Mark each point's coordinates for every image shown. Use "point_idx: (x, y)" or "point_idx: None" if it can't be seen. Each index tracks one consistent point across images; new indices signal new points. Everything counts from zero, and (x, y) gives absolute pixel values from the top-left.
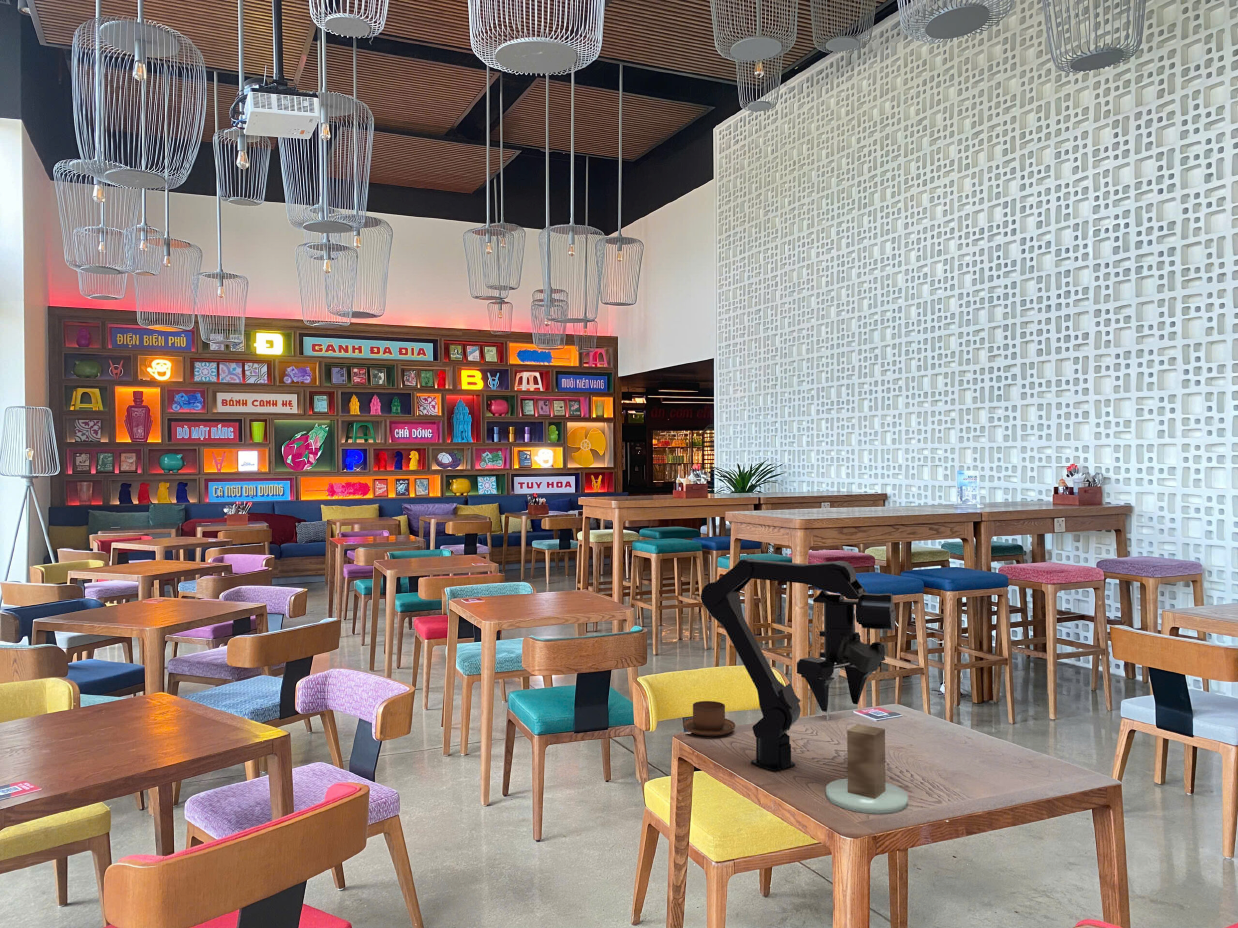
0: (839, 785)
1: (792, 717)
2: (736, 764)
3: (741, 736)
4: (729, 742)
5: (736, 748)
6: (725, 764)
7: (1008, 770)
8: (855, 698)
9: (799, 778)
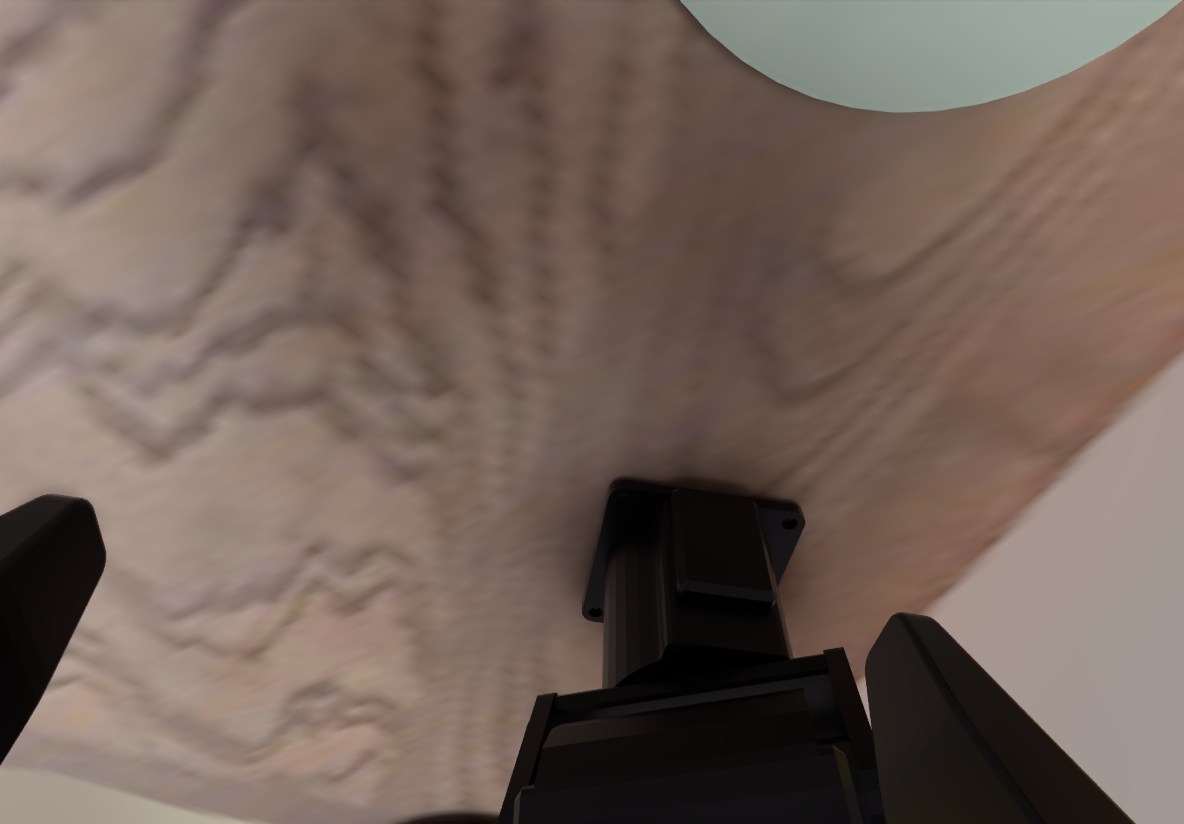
0: (949, 13)
1: (810, 762)
2: None
3: (423, 789)
4: None
5: None
6: None
7: None
8: (31, 592)
9: (811, 361)
